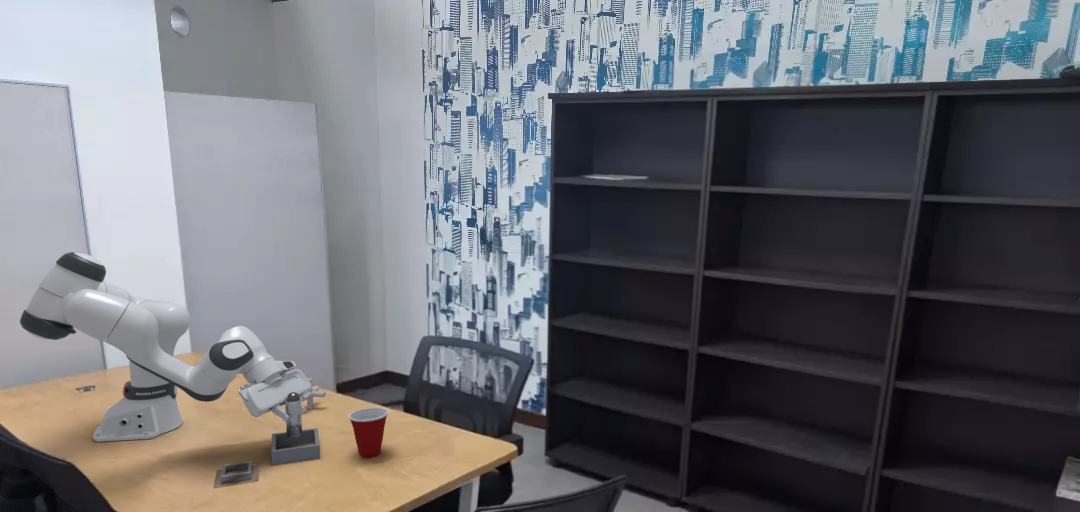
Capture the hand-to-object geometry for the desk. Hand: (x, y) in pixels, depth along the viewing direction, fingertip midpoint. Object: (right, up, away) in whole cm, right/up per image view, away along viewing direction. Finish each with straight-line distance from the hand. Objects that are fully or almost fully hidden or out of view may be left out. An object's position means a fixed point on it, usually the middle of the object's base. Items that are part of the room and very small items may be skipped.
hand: (295, 415), depth 169 cm
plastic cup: (+19, -12, +5) cm, 23 cm away
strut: (-1, -5, +1) cm, 6 cm away
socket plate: (-10, -13, -11) cm, 20 cm away
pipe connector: (-9, -7, +36) cm, 38 cm away
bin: (-1, -12, +2) cm, 12 cm away
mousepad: (-97, -4, +50) cm, 109 cm away
